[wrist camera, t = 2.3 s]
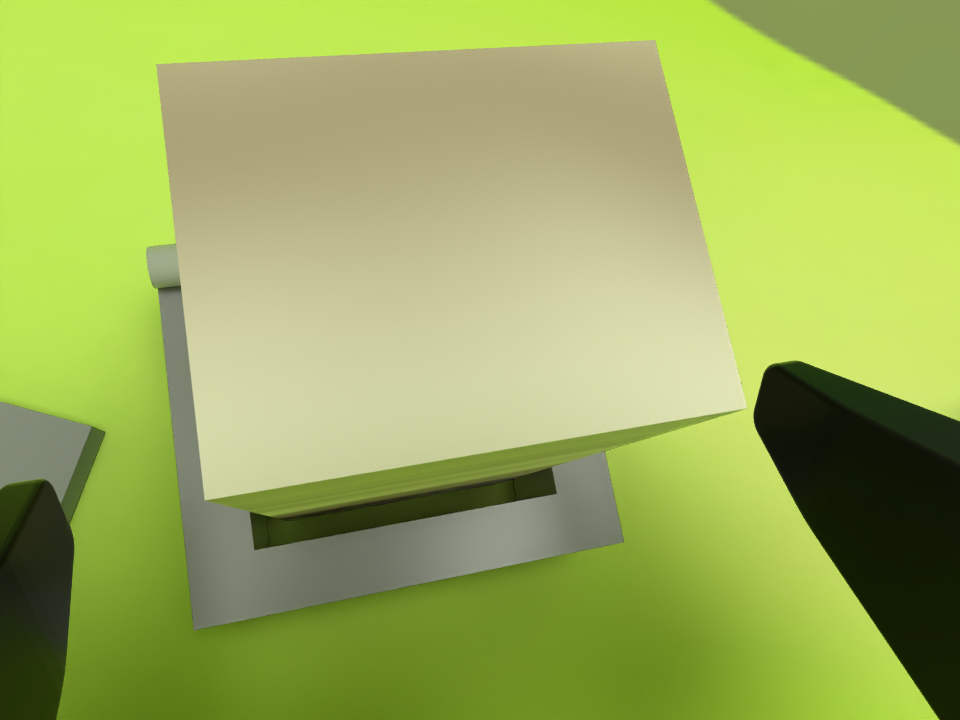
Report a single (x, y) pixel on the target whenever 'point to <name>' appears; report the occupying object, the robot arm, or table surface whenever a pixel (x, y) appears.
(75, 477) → the rubber mat
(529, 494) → the dispenser sleeve
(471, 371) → the cream square pillar
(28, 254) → the table surface
